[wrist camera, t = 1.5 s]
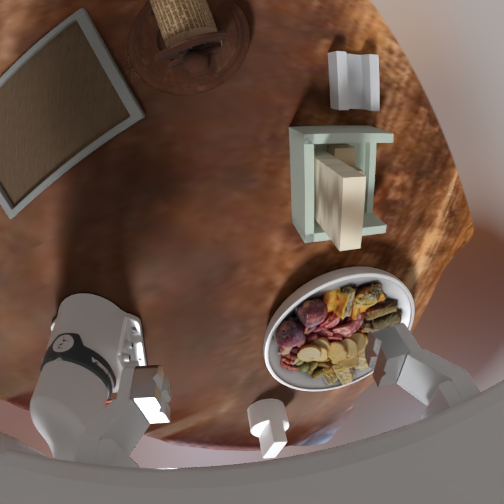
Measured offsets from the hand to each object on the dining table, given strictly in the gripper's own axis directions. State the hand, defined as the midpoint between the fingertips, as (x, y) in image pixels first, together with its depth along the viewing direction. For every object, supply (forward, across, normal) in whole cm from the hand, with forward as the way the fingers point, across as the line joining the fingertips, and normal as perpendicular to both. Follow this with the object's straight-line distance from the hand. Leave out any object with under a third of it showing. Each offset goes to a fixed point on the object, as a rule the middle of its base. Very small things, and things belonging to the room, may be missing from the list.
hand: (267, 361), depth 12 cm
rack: (+34, -14, +5) cm, 38 cm away
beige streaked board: (+33, -11, +4) cm, 35 cm away
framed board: (+34, +27, -11) cm, 45 cm away
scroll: (+35, +3, -16) cm, 38 cm away
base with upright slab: (+34, 0, +59) cm, 68 cm away
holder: (+35, -18, -9) cm, 40 cm away
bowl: (+35, -16, +35) cm, 52 cm away
